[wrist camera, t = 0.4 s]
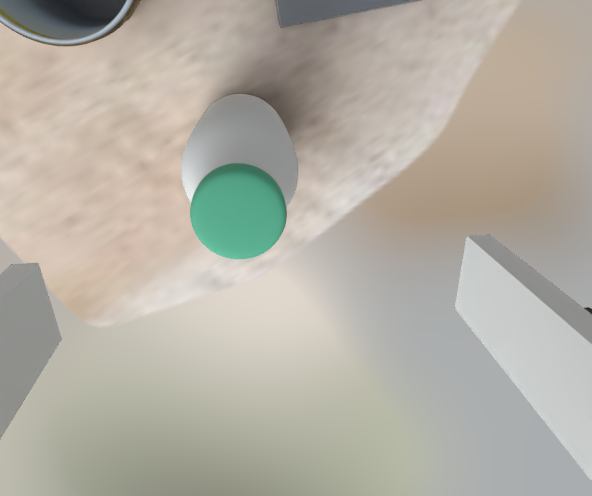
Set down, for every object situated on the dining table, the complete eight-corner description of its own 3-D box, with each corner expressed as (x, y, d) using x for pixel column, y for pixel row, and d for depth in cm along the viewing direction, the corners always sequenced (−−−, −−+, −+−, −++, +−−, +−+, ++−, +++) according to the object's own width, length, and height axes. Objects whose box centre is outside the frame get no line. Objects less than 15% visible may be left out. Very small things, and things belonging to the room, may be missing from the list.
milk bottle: (181, 114, 37) (121, 176, 19) (264, 77, 37) (283, 106, 19) (221, 193, 40) (201, 311, 22) (298, 161, 40) (342, 255, 22)
